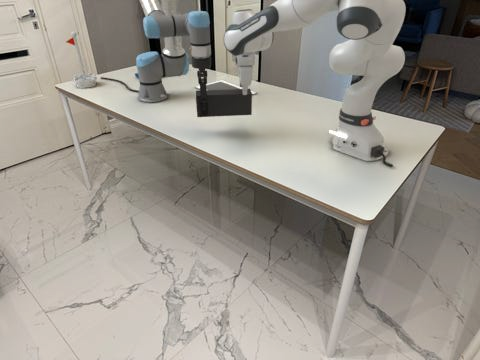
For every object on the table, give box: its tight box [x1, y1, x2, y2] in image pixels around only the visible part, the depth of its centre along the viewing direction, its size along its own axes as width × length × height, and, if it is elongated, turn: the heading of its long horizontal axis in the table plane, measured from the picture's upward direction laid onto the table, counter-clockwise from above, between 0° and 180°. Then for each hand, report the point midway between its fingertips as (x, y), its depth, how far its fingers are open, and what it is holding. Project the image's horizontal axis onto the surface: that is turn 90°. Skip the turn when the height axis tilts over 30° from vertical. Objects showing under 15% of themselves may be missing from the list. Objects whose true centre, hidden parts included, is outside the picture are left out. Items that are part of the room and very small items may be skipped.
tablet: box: [194, 79, 258, 96], centre depth 196 cm, size 32×20×1 cm, turn 41°
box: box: [195, 88, 253, 118], centre depth 141 cm, size 23×6×9 cm, turn 96°
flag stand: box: [65, 31, 98, 89], centre depth 197 cm, size 13×13×30 cm
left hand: (204, 113), depth 143 cm, fingers closed on box, 6 cm apart
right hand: (243, 90), depth 139 cm, fingers open, 8 cm apart
